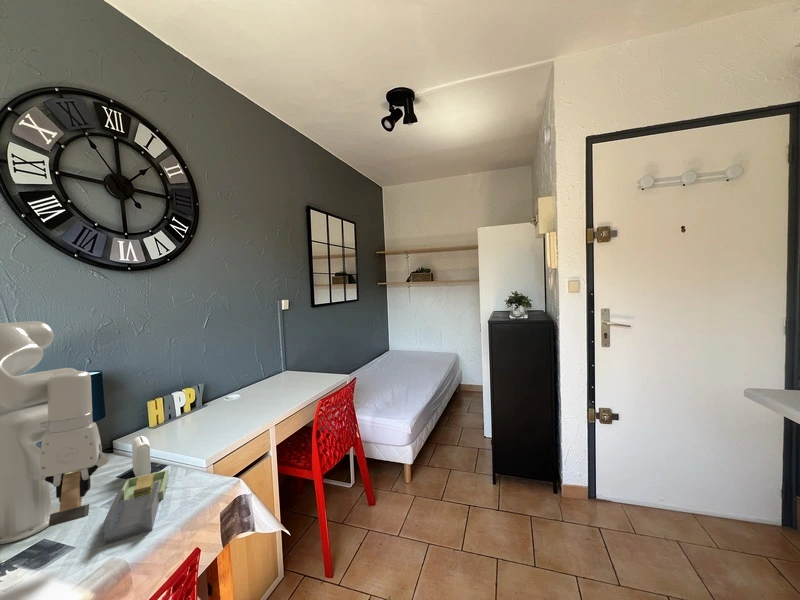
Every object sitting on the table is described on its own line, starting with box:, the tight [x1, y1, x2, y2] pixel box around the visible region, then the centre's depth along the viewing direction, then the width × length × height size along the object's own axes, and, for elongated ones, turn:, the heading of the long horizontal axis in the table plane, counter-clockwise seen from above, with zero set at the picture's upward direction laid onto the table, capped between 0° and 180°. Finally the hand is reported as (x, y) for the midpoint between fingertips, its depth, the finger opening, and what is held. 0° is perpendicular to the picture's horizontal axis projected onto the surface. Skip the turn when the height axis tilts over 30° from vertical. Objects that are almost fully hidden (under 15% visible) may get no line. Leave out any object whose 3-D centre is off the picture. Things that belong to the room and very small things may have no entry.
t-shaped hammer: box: [48, 470, 90, 528], centre depth 77 cm, size 6×3×10 cm, turn 121°
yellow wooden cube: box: [134, 480, 153, 497], centre depth 97 cm, size 4×4×4 cm
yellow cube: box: [136, 473, 155, 485], centre depth 100 cm, size 4×4×4 cm
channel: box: [103, 481, 161, 545], centre depth 87 cm, size 9×14×6 cm
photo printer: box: [131, 435, 152, 477], centre depth 111 cm, size 10×4×12 cm, turn 47°
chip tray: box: [121, 469, 170, 501], centre depth 100 cm, size 11×14×2 cm
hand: (74, 495), depth 79 cm, fingers closed on t-shaped hammer, 3 cm apart
